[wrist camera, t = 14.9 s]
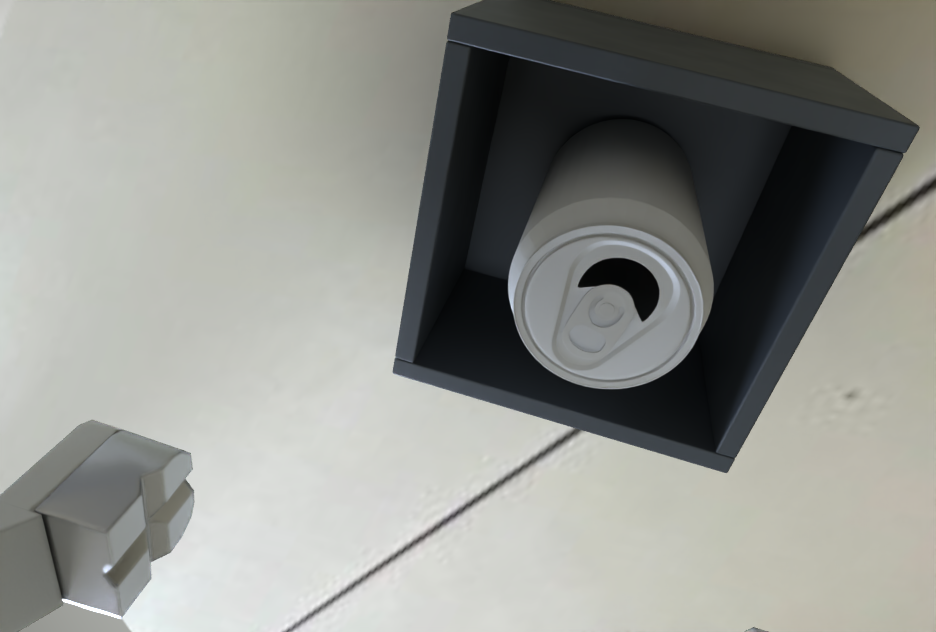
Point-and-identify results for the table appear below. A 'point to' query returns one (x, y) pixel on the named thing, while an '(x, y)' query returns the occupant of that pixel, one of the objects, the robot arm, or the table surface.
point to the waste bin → (717, 189)
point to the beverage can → (613, 259)
